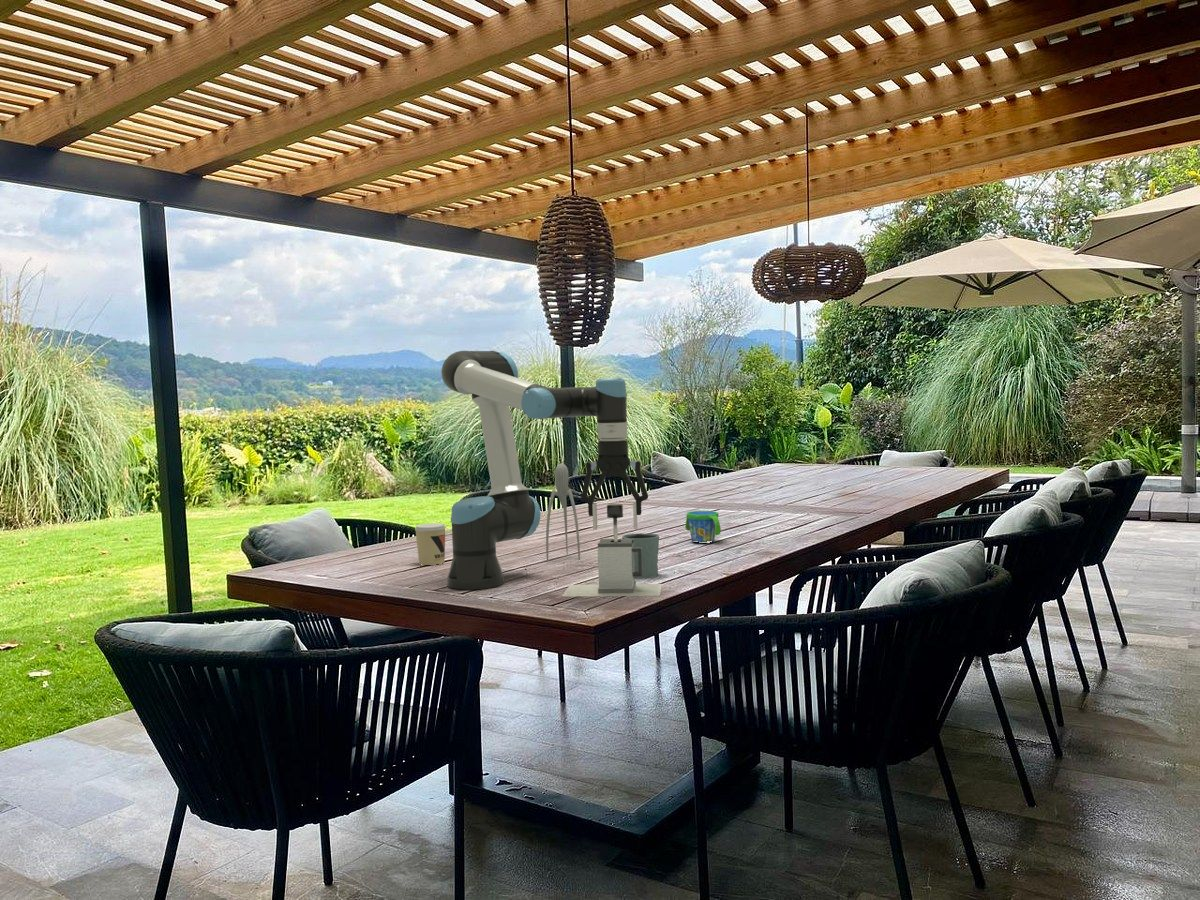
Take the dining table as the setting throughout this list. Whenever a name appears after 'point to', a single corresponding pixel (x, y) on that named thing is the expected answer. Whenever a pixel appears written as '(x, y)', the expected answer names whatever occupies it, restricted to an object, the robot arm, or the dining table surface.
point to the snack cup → (703, 525)
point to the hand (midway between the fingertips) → (615, 528)
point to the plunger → (615, 516)
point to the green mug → (646, 553)
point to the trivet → (593, 591)
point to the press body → (617, 565)
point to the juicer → (562, 503)
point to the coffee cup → (431, 543)
